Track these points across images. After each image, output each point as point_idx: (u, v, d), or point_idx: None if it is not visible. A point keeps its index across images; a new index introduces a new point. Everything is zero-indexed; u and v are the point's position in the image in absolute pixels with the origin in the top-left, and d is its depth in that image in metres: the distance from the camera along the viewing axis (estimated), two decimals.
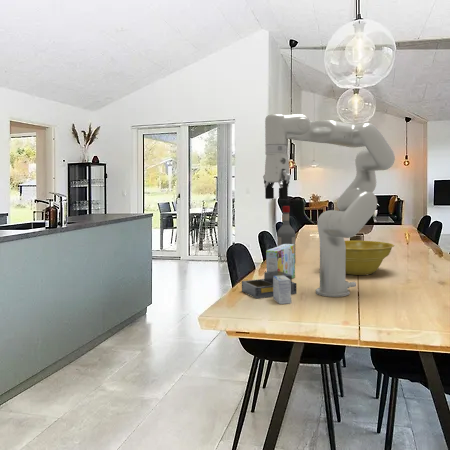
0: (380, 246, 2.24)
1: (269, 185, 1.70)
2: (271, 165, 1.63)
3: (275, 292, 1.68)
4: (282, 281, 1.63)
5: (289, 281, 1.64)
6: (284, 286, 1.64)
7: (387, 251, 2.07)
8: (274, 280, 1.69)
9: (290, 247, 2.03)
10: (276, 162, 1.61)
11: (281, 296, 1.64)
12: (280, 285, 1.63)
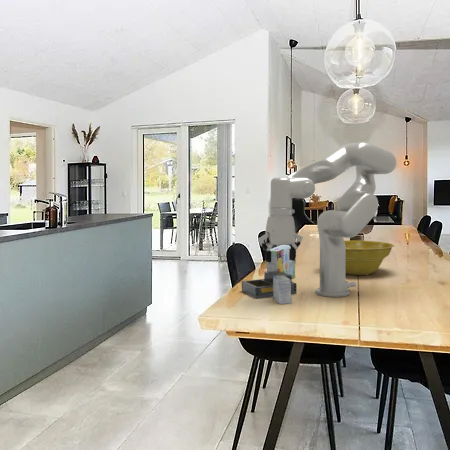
0: (380, 246, 2.24)
1: None
2: (287, 228, 1.64)
3: (275, 292, 1.68)
4: (282, 281, 1.63)
5: (289, 281, 1.64)
6: (284, 286, 1.64)
7: (387, 251, 2.07)
8: (274, 280, 1.69)
9: (290, 247, 2.03)
10: (293, 225, 1.65)
11: (281, 296, 1.64)
12: (280, 285, 1.63)
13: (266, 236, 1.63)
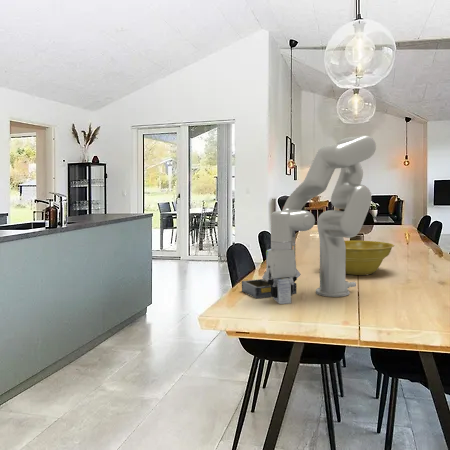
0: (380, 246, 2.24)
1: None
2: (287, 261, 1.65)
3: None
4: (281, 281, 1.63)
5: (289, 281, 1.64)
6: (284, 286, 1.64)
7: (387, 251, 2.07)
8: None
9: None
10: (294, 258, 1.66)
11: (281, 296, 1.64)
12: (280, 285, 1.63)
13: (268, 274, 1.64)
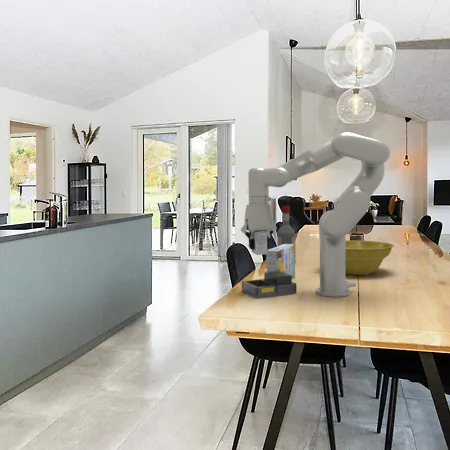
0: (380, 246, 2.24)
1: None
2: (264, 215, 1.76)
3: None
4: (258, 233, 1.74)
5: (265, 233, 1.75)
6: (261, 238, 1.74)
7: (387, 251, 2.07)
8: None
9: (290, 247, 2.03)
10: (270, 212, 1.77)
11: (258, 247, 1.74)
12: (257, 237, 1.74)
13: (245, 227, 1.75)
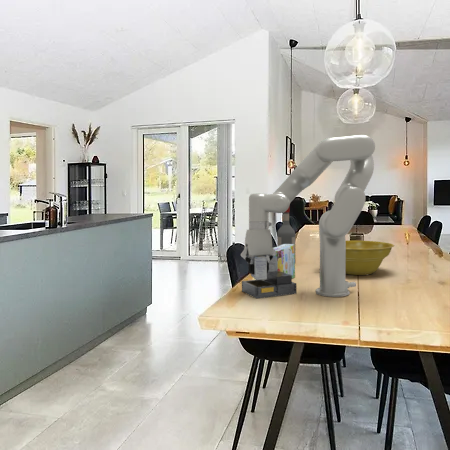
0: (380, 246, 2.24)
1: None
2: (264, 240, 1.76)
3: None
4: (258, 258, 1.75)
5: (265, 258, 1.75)
6: (260, 263, 1.75)
7: (387, 251, 2.07)
8: None
9: (290, 247, 2.03)
10: (270, 237, 1.78)
11: (258, 272, 1.75)
12: (257, 262, 1.75)
13: (245, 252, 1.76)
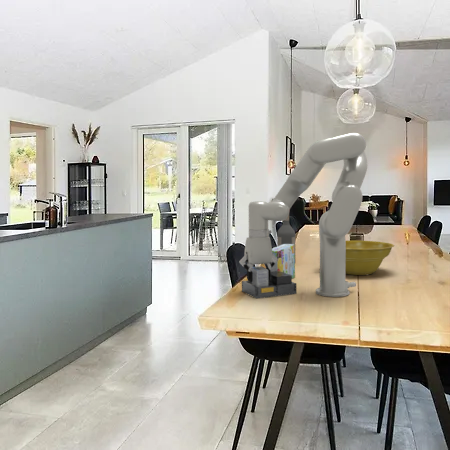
0: (380, 246, 2.24)
1: None
2: (264, 248, 1.77)
3: (253, 282, 1.80)
4: (260, 271, 1.75)
5: (267, 271, 1.76)
6: (262, 276, 1.76)
7: (387, 251, 2.07)
8: (253, 270, 1.81)
9: (290, 247, 2.03)
10: (270, 245, 1.78)
11: (259, 285, 1.76)
12: (258, 275, 1.75)
13: (245, 259, 1.76)
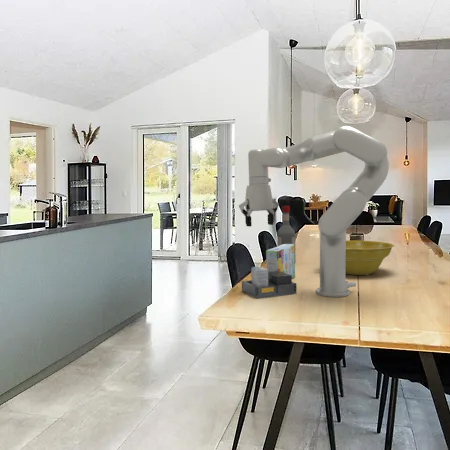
0: (380, 246, 2.24)
1: None
2: (264, 195, 1.81)
3: (253, 282, 1.80)
4: (260, 271, 1.75)
5: (266, 271, 1.76)
6: (262, 276, 1.76)
7: (387, 251, 2.07)
8: (252, 271, 1.81)
9: (290, 247, 2.03)
10: (270, 192, 1.82)
11: (259, 285, 1.76)
12: (258, 275, 1.75)
13: (246, 203, 1.80)
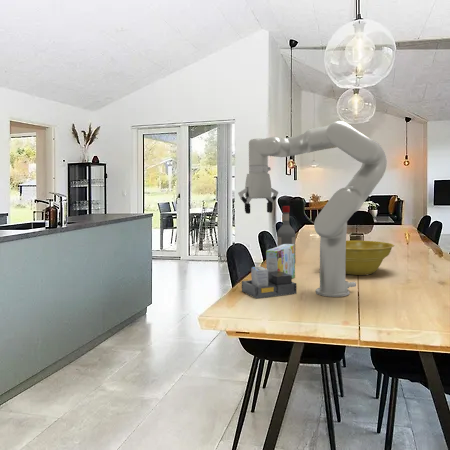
0: (380, 246, 2.24)
1: None
2: (263, 183, 1.86)
3: (253, 282, 1.80)
4: (260, 271, 1.75)
5: (266, 271, 1.76)
6: (262, 276, 1.76)
7: (387, 251, 2.07)
8: (252, 271, 1.81)
9: (290, 247, 2.03)
10: (269, 180, 1.87)
11: (259, 285, 1.76)
12: (258, 275, 1.75)
13: (245, 190, 1.85)
